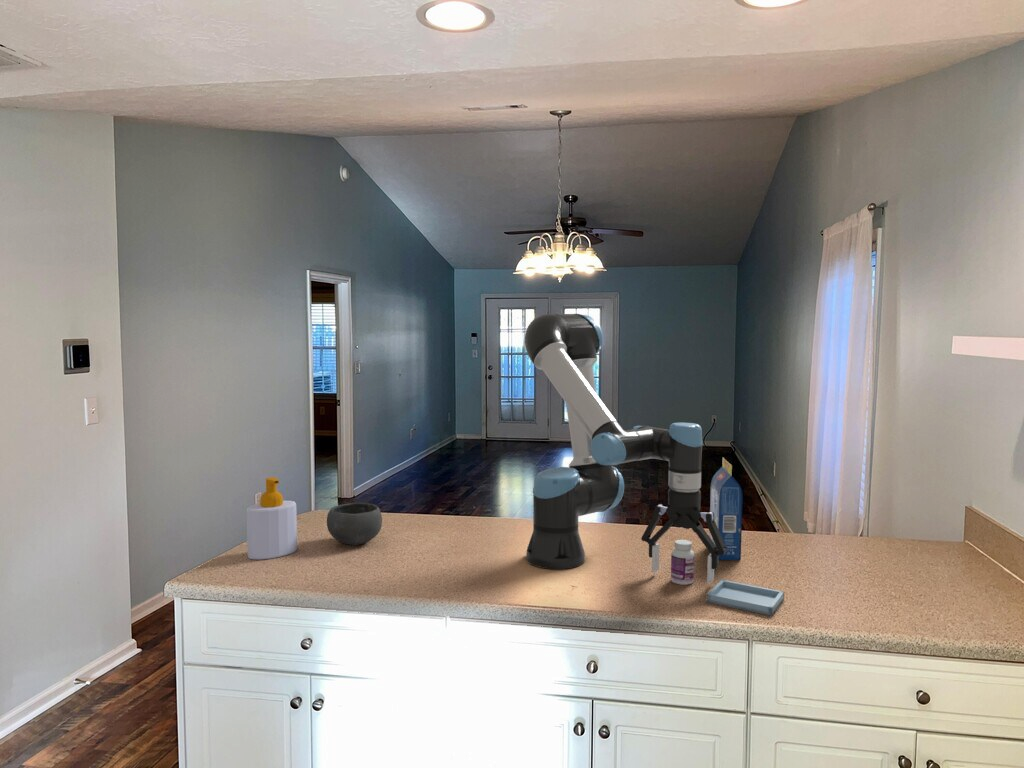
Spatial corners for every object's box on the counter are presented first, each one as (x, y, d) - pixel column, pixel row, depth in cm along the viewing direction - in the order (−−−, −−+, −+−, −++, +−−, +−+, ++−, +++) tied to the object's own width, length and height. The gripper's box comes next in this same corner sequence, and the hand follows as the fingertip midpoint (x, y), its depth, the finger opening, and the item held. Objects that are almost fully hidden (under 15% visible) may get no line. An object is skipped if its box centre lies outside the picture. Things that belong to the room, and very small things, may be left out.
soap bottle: (254, 563, 187) (252, 484, 185) (242, 555, 193) (240, 479, 191) (303, 552, 195) (301, 477, 194) (289, 545, 202) (288, 472, 200)
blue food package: (731, 546, 202) (734, 457, 200) (741, 560, 190) (744, 465, 188) (708, 546, 203) (710, 456, 201) (716, 560, 191) (719, 465, 189)
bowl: (356, 532, 215) (355, 498, 214) (392, 541, 206) (392, 506, 205) (315, 544, 203) (315, 508, 202) (352, 554, 194) (352, 517, 193)
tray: (706, 601, 162) (706, 594, 162) (721, 586, 171) (721, 579, 171) (771, 615, 155) (772, 607, 154) (783, 599, 164) (784, 591, 164)
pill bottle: (689, 587, 171) (690, 546, 170) (667, 582, 174) (668, 543, 173) (696, 580, 176) (697, 540, 175) (675, 576, 179) (676, 537, 178)
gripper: (629, 485, 177) (627, 570, 178) (732, 498, 163) (730, 591, 165) (641, 479, 183) (639, 562, 185) (742, 492, 169) (739, 581, 171)
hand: (682, 576), depth 175 cm, fingers open, 13 cm apart
